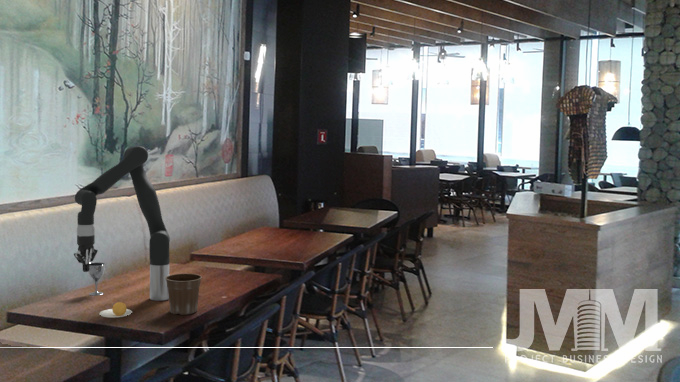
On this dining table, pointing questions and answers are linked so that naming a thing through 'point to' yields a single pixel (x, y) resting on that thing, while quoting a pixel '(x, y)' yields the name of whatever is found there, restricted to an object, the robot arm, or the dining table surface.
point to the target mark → (110, 313)
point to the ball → (119, 308)
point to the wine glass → (96, 275)
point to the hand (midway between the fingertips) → (86, 271)
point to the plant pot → (183, 293)
